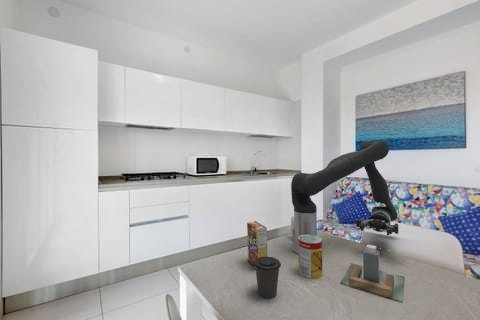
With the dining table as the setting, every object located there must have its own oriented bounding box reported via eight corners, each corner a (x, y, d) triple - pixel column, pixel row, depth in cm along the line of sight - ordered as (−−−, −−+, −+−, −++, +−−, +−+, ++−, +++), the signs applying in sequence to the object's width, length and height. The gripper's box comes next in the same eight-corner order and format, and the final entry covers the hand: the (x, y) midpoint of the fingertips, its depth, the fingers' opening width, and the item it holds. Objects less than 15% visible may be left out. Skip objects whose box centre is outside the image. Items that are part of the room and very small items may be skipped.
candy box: (247, 261, 88) (246, 222, 88) (256, 259, 90) (256, 220, 90) (257, 271, 80) (257, 228, 80) (268, 269, 82) (267, 226, 81)
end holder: (340, 283, 72) (340, 275, 72) (351, 264, 85) (351, 257, 85) (402, 302, 62) (402, 293, 62) (404, 277, 75) (404, 270, 75)
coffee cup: (274, 305, 62) (274, 268, 62) (248, 296, 66) (248, 261, 66) (285, 290, 69) (285, 257, 68) (261, 282, 73) (260, 251, 73)
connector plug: (363, 284, 71) (363, 247, 70) (365, 278, 74) (365, 243, 74) (378, 288, 68) (378, 250, 68) (379, 282, 71) (379, 245, 71)
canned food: (326, 272, 79) (325, 238, 79) (316, 281, 73) (316, 244, 73) (305, 265, 84) (304, 233, 84) (294, 273, 79) (294, 238, 78)
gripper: (361, 209, 102) (353, 216, 89) (400, 214, 94) (397, 223, 81) (361, 226, 102) (353, 235, 89) (399, 232, 94) (397, 244, 81)
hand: (374, 229), depth 85 cm, fingers open, 8 cm apart
